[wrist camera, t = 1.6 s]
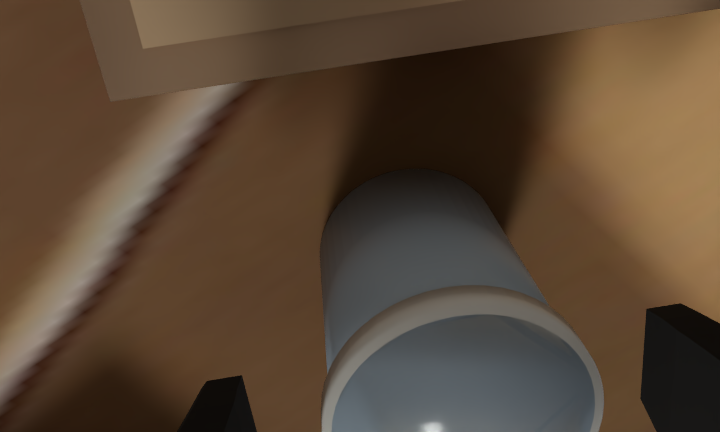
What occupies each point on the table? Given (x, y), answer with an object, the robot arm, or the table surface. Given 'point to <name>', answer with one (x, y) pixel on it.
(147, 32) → the box
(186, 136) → the table surface
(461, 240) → the cup
